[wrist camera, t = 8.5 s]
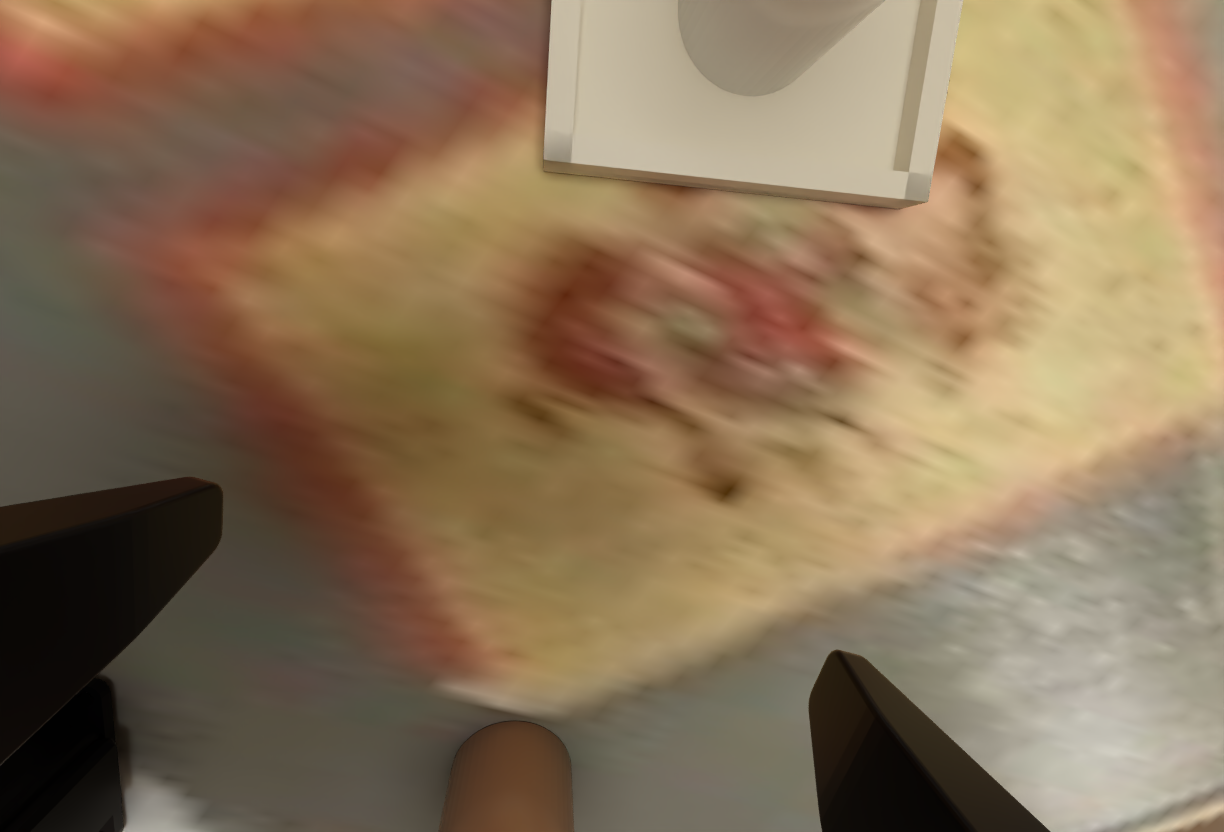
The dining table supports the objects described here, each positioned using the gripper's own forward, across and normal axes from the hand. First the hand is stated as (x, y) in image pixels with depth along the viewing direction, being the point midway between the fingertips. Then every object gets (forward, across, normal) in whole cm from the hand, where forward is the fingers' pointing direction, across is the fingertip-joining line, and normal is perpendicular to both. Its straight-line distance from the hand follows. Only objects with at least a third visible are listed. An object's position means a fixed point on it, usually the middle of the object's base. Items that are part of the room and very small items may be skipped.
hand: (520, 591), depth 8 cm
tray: (+14, -2, -12) cm, 18 cm away
